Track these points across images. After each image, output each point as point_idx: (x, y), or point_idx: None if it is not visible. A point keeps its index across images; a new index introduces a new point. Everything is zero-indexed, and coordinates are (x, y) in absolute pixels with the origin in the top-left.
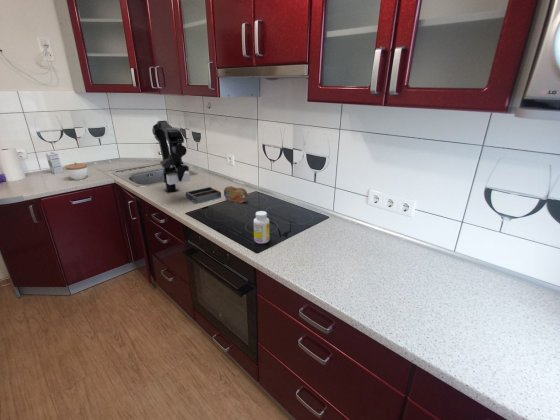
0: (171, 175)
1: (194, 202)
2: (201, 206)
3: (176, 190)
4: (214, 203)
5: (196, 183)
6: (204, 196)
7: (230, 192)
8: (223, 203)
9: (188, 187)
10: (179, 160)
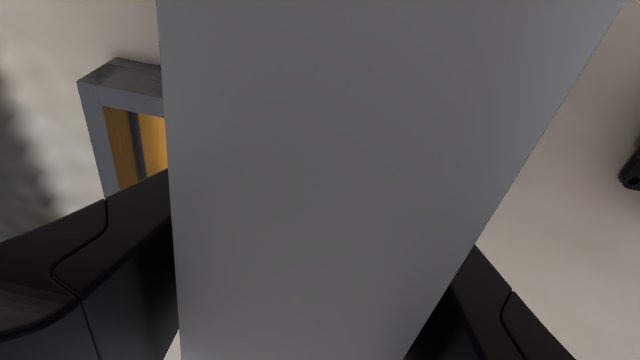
0: (194, 12)
1: (149, 65)
2: (13, 45)
3: (632, 163)
4: (47, 162)
5: (582, 356)
6: (102, 174)
7: None
8: (20, 198)
9: (578, 279)
10: None
